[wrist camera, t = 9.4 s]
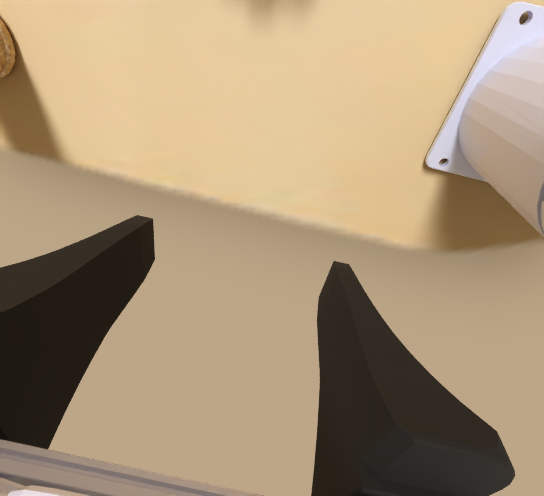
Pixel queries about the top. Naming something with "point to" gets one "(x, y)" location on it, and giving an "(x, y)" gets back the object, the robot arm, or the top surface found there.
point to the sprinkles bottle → (6, 51)
